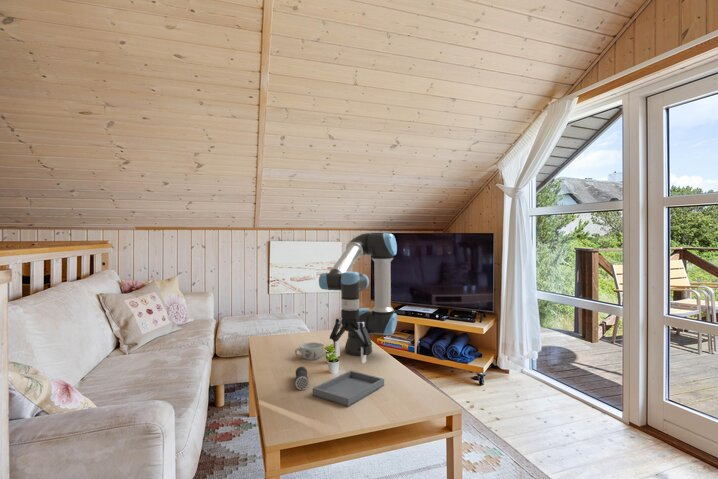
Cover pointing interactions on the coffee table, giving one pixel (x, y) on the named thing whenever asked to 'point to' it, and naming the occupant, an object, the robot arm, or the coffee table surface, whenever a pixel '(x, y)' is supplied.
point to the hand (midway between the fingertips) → (350, 359)
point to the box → (348, 388)
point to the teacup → (310, 350)
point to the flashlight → (300, 374)
